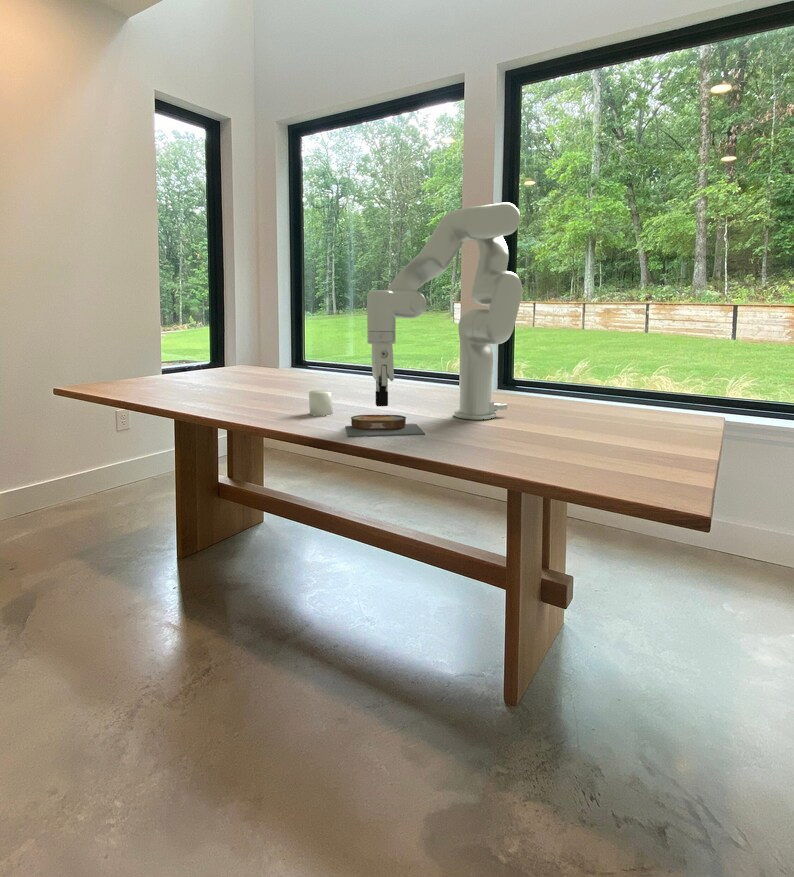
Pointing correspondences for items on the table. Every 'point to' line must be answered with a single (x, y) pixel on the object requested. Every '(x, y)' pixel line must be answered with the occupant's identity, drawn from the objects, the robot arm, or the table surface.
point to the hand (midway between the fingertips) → (381, 405)
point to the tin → (378, 421)
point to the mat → (385, 431)
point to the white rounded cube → (320, 402)
